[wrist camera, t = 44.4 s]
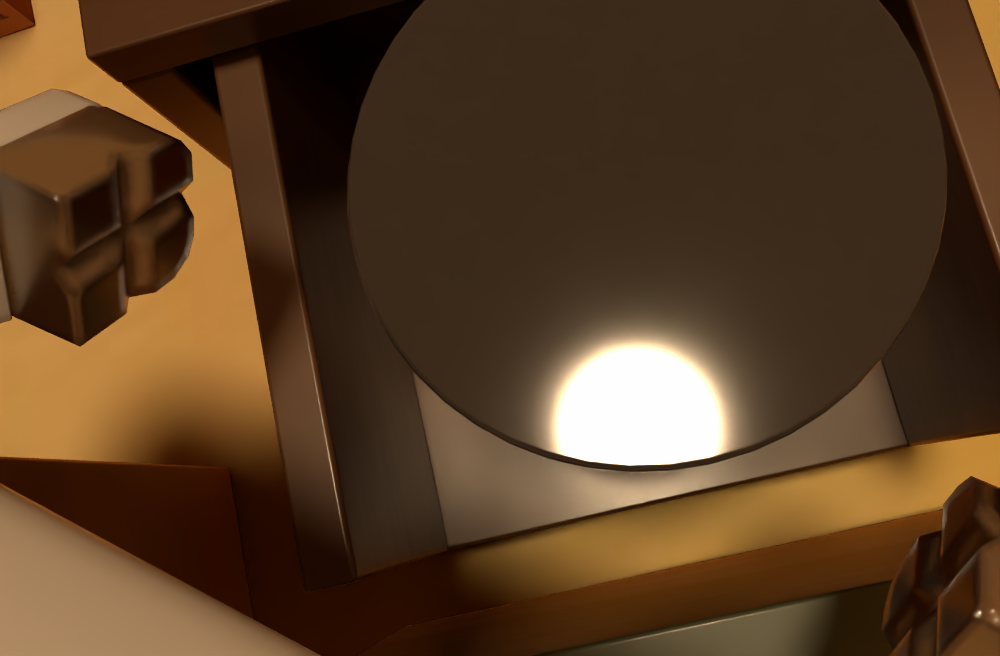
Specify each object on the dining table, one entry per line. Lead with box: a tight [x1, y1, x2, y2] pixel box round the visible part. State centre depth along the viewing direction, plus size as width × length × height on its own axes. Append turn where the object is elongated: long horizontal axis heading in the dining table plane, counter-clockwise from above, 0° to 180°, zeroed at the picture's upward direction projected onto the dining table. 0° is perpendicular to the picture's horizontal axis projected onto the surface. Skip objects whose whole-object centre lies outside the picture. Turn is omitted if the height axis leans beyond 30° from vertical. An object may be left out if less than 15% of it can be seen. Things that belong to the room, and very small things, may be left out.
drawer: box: [212, 0, 1000, 656], centre depth 16 cm, size 19×13×8 cm, turn 13°
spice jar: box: [347, 0, 947, 474], centre depth 14 cm, size 6×6×10 cm
